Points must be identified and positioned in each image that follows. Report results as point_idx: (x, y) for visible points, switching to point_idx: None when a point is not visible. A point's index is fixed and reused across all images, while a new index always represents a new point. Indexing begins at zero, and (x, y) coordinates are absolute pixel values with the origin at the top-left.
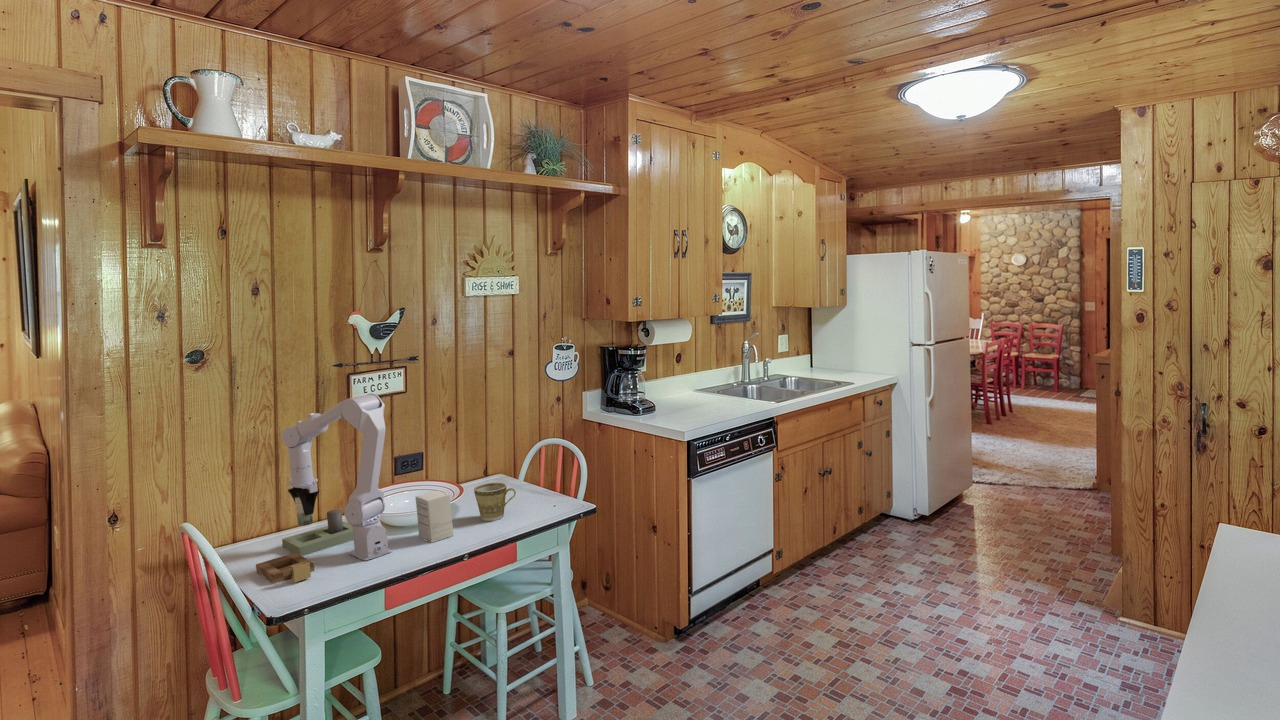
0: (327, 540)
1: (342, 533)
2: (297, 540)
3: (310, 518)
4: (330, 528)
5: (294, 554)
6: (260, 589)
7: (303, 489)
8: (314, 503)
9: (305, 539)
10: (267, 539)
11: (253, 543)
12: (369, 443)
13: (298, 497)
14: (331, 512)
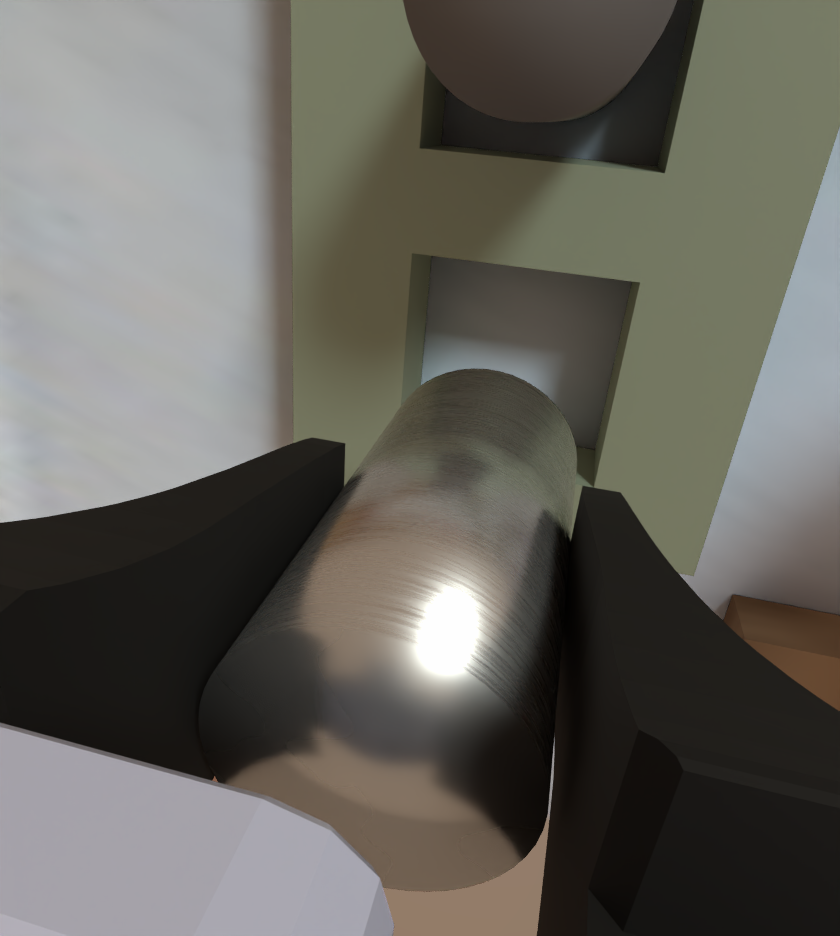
0: (778, 296)
1: (808, 50)
2: None
3: (573, 478)
4: (579, 116)
5: (791, 668)
6: None
7: (91, 735)
8: (688, 593)
9: (413, 339)
10: (36, 412)
11: (54, 503)
12: None
13: (366, 841)
14: (526, 25)
